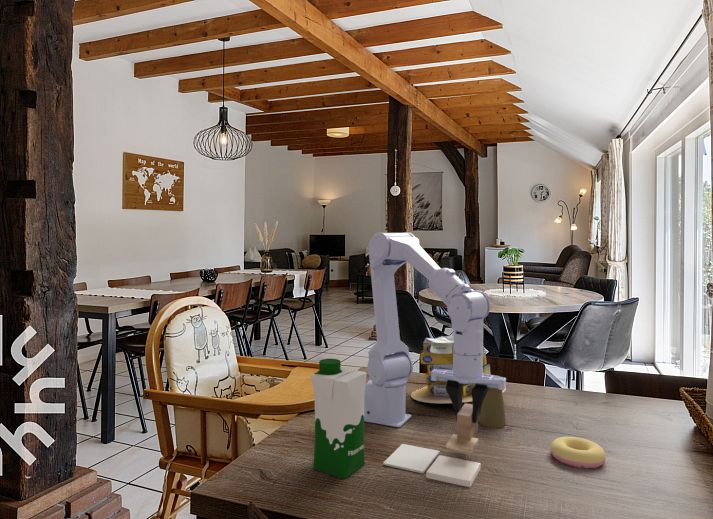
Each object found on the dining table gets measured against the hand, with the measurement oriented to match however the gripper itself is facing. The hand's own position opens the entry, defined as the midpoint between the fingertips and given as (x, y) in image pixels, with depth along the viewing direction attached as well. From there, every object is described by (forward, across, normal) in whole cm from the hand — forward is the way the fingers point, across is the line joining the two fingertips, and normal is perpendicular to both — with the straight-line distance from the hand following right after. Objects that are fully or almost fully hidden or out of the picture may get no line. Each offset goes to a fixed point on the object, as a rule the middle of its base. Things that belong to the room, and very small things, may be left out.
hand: (467, 420), depth 105 cm
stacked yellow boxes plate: (+7, -11, +34) cm, 36 cm away
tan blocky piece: (+4, 0, -1) cm, 4 cm away
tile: (+6, 0, -5) cm, 8 cm away
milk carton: (+7, -20, -16) cm, 27 cm away
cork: (+7, +1, +20) cm, 21 cm away
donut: (+7, +20, +8) cm, 23 cm away
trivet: (+7, -9, -7) cm, 13 cm away
